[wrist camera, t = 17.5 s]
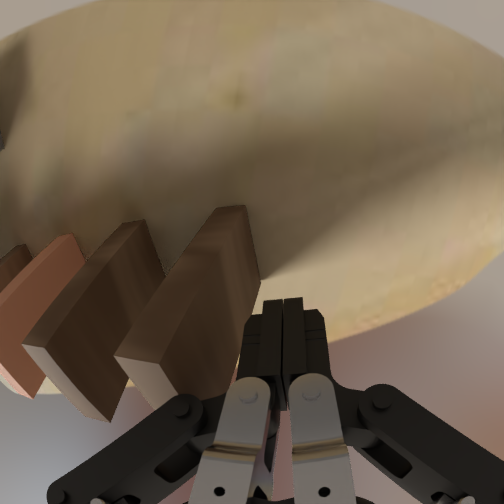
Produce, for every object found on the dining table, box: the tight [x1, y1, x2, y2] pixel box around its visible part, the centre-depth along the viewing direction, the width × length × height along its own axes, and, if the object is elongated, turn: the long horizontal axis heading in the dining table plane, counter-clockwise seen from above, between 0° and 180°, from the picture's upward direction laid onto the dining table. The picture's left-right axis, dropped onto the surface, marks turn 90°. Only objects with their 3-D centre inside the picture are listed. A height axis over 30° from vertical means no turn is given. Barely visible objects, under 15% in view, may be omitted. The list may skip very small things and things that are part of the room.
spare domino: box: [0, 233, 86, 399], centre depth 15 cm, size 2×5×10 cm, turn 10°
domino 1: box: [113, 205, 261, 410], centre depth 13 cm, size 2×5×10 cm, turn 10°
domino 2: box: [21, 220, 165, 423], centre depth 14 cm, size 2×5×10 cm, turn 10°
